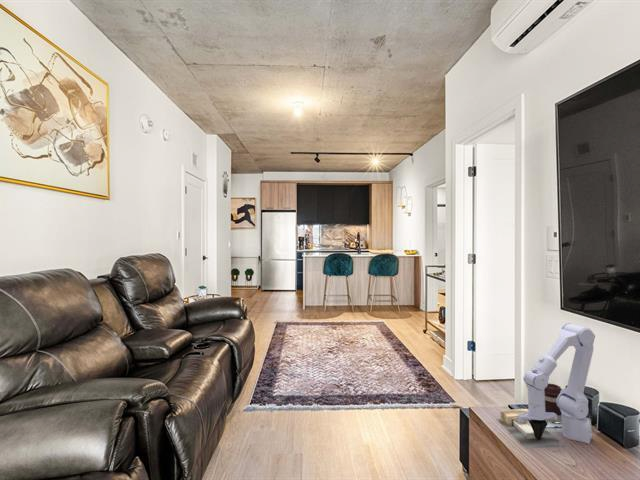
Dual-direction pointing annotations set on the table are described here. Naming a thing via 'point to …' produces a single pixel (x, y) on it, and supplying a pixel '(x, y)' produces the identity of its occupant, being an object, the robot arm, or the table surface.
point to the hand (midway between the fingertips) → (538, 438)
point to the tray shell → (524, 428)
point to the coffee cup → (552, 401)
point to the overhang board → (528, 443)
